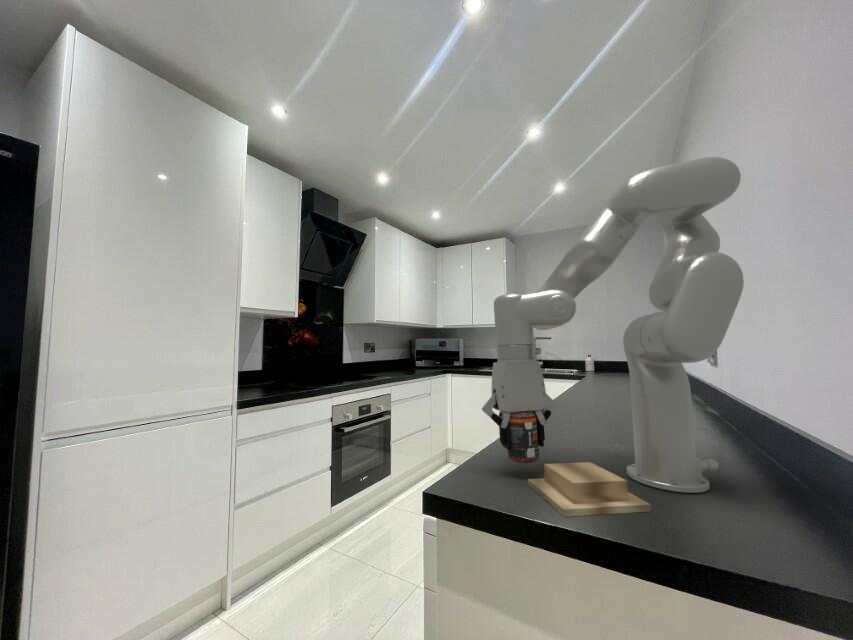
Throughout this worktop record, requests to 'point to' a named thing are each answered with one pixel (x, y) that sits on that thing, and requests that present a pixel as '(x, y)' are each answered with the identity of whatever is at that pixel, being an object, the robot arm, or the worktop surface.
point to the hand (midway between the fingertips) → (522, 445)
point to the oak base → (586, 507)
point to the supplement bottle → (523, 437)
